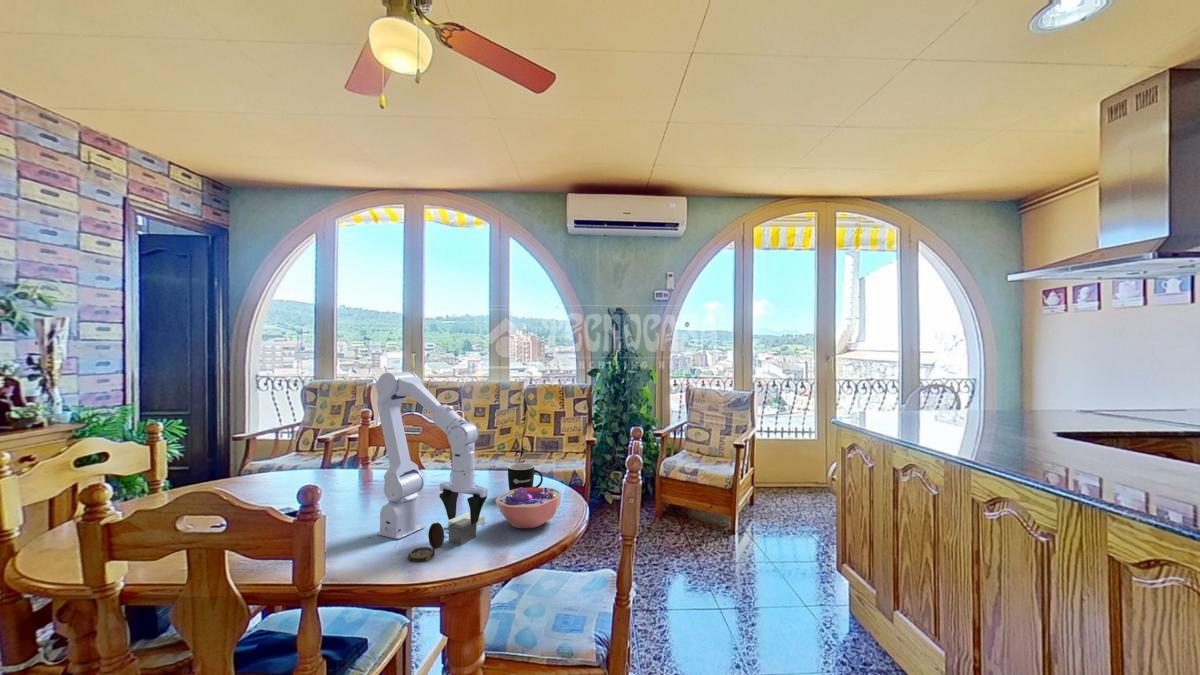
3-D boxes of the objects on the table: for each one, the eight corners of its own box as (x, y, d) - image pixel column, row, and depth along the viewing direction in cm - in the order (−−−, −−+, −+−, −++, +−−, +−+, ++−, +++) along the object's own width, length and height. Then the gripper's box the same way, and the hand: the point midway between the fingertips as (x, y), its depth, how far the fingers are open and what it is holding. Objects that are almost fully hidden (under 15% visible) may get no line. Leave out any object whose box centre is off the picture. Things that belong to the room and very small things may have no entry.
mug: (508, 501, 161) (508, 470, 161) (506, 493, 170) (506, 463, 170) (544, 498, 164) (544, 468, 164) (540, 490, 173) (541, 462, 173)
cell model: (574, 522, 142) (575, 483, 142) (520, 543, 127) (521, 499, 127) (537, 509, 153) (537, 473, 153) (483, 526, 138) (483, 486, 138)
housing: (461, 545, 125) (461, 526, 125) (448, 543, 127) (448, 524, 127) (476, 537, 131) (476, 519, 131) (463, 534, 132) (464, 517, 132)
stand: (466, 531, 134) (466, 524, 135) (448, 527, 137) (448, 520, 137) (484, 521, 142) (484, 515, 142) (466, 518, 144) (466, 512, 145)
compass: (402, 557, 118) (403, 527, 118) (432, 547, 124) (433, 519, 124) (419, 567, 113) (419, 536, 113) (449, 556, 119) (450, 526, 119)
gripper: (494, 468, 130) (494, 519, 129) (452, 463, 136) (452, 511, 135) (477, 475, 123) (477, 528, 123) (434, 468, 129) (433, 520, 129)
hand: (463, 520), depth 129 cm, fingers open, 7 cm apart
